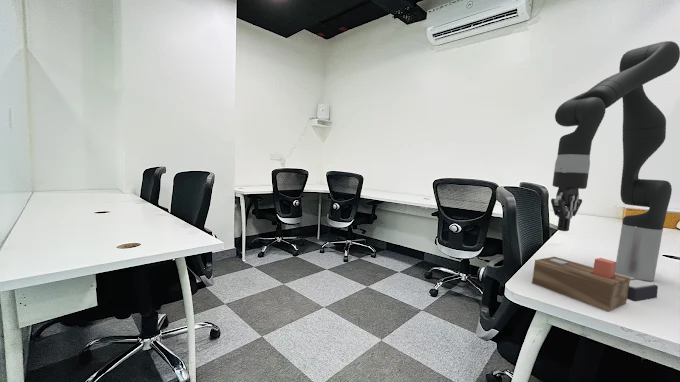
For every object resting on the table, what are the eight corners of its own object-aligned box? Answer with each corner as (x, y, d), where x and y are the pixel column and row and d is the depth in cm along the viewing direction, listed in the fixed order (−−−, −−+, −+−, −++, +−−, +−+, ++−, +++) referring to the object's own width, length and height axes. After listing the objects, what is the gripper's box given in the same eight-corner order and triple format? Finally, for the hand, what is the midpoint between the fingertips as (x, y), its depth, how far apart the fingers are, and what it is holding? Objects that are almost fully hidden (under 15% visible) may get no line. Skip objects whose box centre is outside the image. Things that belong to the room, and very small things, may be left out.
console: (551, 277, 85) (554, 256, 84) (626, 303, 70) (630, 277, 70) (532, 282, 80) (535, 260, 79) (608, 311, 65) (612, 283, 64)
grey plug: (551, 280, 82) (554, 258, 81) (564, 285, 79) (567, 262, 78) (546, 282, 80) (549, 259, 80) (558, 287, 77) (562, 263, 77)
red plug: (596, 282, 72) (600, 257, 72) (612, 288, 70) (616, 261, 69) (591, 284, 71) (594, 259, 70) (607, 289, 68) (611, 263, 68)
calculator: (593, 266, 89) (659, 283, 75) (592, 278, 90) (657, 298, 75) (572, 268, 86) (636, 286, 72) (571, 281, 86) (635, 302, 72)
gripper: (566, 171, 83) (559, 226, 84) (543, 169, 77) (536, 229, 78) (598, 172, 76) (589, 232, 78) (576, 170, 70) (567, 235, 72)
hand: (562, 230), depth 78 cm, fingers closed
